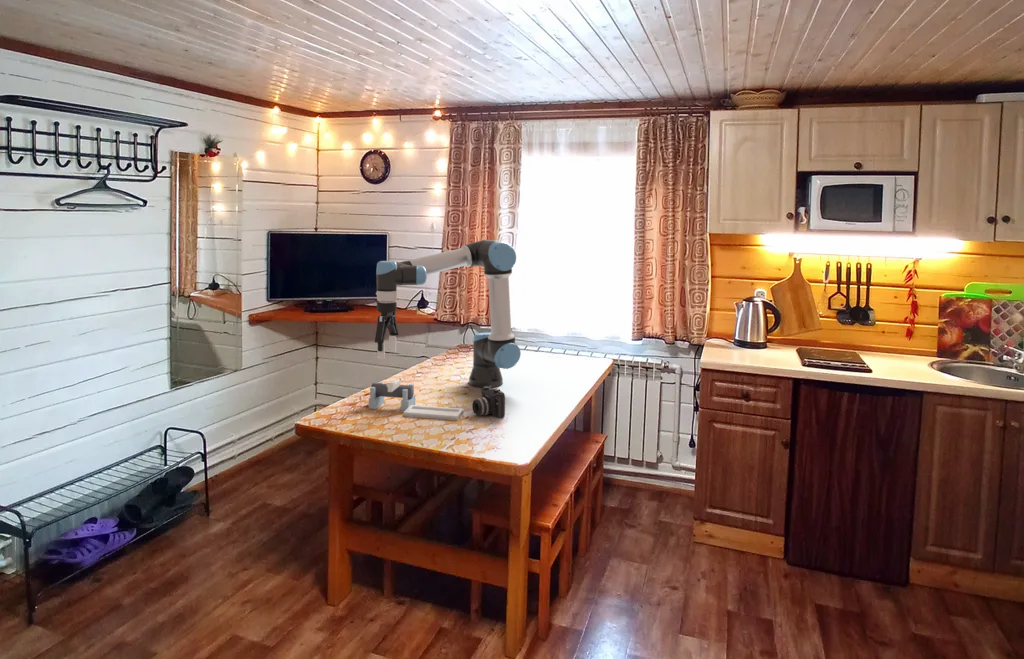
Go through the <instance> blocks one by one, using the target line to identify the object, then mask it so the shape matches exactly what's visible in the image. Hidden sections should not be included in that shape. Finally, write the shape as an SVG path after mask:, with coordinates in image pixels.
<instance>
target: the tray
mask: <svg viewBox="0 0 1024 659" xmlns="http://www.w3.org/2000/svg"><path fill="white" fill-rule="evenodd" d="M402 412H403V417H409V418H422V419H423V418H424V419H435V420H436V419H437V420H446V421H447V420H449V421H459V419H460V418H461V416H463V414H464V408H460V407H458V408H457V407H445V406H442V407H441V406H430V405H417V404H415V405H411V406H409V407H408V408H407V409H406V410H405V411H402Z"/></svg>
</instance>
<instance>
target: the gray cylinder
mask: <svg viewBox="0 0 1024 659" xmlns="http://www.w3.org/2000/svg"><path fill="white" fill-rule="evenodd" d="M371 387H376V396H383V397H384V398H401V399H402V390H403V389H408V398H412V397H413V394H414V395H415V392H414V391H415V388H414V387H413V386H409V384H400V386H399V387H398V388H396V389H395V390H394V391H393V392H388V387H387V383H382V384H380V383H378V382H377V383H376V382H372V383H371V386H370V388H371Z"/></svg>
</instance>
